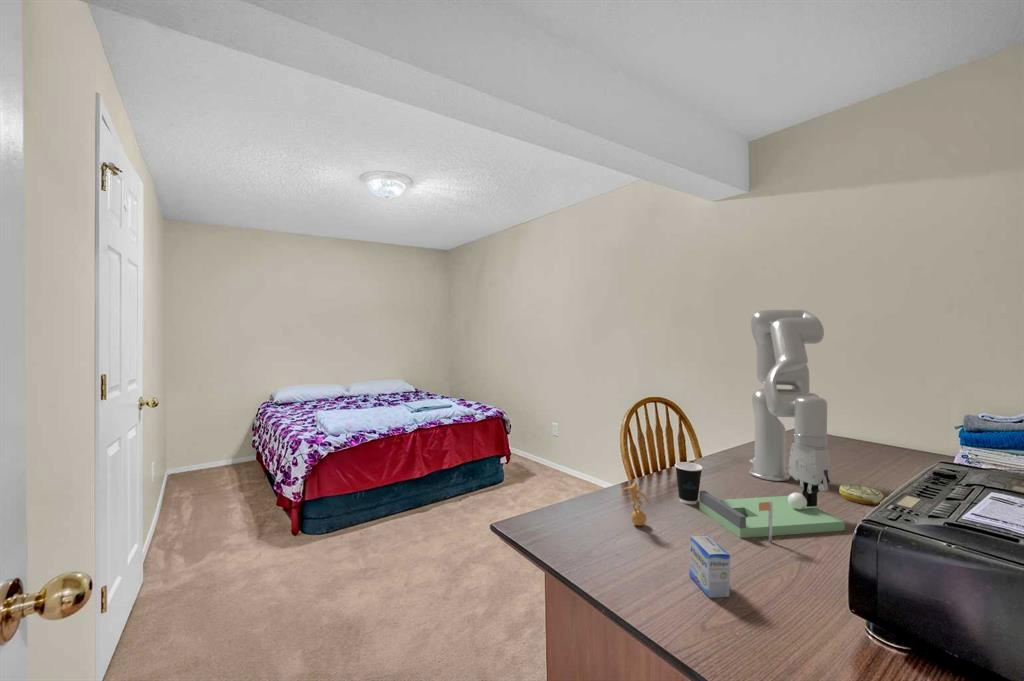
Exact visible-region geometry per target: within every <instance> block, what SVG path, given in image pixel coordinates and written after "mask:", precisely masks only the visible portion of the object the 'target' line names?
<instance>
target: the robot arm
mask: <svg viewBox="0 0 1024 681" xmlns="http://www.w3.org/2000/svg"><path fill="white" fill-rule="evenodd" d="M750 329H751V333H752V336H753V339H754V342H755V346H756V377H757V380H758V381H759V383H761V384H764V388H759V389H756V390H755V391H754V392H753V394H752V397H751V398H752V400H751V401H752V408H753V414H754V457H753V458H752V459H750V460H749V463H750V464H752V467H751V468H750V469H749V474H750V475H751V476H753V477H755V478H759V479H762V480H765V481H772V482H785V481H789V480H790V479H791V477H792V478H793V479H794V480H795V481H796V482H798V484H799V486H800V490H801V492H802V493H801V494H802V495H803V496H804V497H805V498H806V500H807V507H817V506H818V494H819V493H820V492H821V491H822V492H823V491H824V492H825V491H829V486H828V485H829V484H831V480H832V471H831V469H832V468H831V458H830V452H829V448H827V446H828V402H827V400H826V399H824V398H823V397H820V395H818V394H816V393H812V392H810V370H809V366H808V362H809V360H808V359H809V358H808V354H807V350H806V346H805V345H806V344H810V345H811V344H813V345H815V344H819V343H821V342H822V340H823V338H824V337H825V336H824V334H825V332H824V331H825V330H824V326H823V323H822V321H821V320H820V319H819V318H818V317H817V316H816V315H814V314H813V313H812V312H810V311H808V310H805V309H766V310H765V309H764V310H759V311H757V312H755V313H753V314H752V316H751V319H750ZM777 386H790V387H791V388H778V387H777ZM779 418H794V433H793V436H794V439H793V440H794V441H793V442H792V443H791V446H790V451H789V457H788V458H789V460H788V472H786V428H785V424H784V423H783V422H782V421H781V420H780V419H779Z"/></svg>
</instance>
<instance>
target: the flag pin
mask: <svg viewBox="0 0 1024 681" xmlns="http://www.w3.org/2000/svg"><path fill="white" fill-rule="evenodd" d="M768 510H769V521H768V536H767V538H768V539H767V540H768V543H769V544H773V536H772V502H770V501H769V502H761V503H759V511H768Z"/></svg>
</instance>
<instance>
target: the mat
mask: <svg viewBox="0 0 1024 681" xmlns="http://www.w3.org/2000/svg"><path fill="white" fill-rule="evenodd" d="M788 497H789V495H781V496H778V495H777V496H763V497H749V498H748V497H747V498H727V499H719V498H717V497H716V496H714V495H712V494H711V493H709V492H708V491H706V490H699V494H698V500H699V505H698V506H699V508H698V509H699V510H700V511H701V512H703V513H704V514H705V515H707V516H708V517H710V518H711V519H712V520H713V521H715V522H717V523H718V524H719V525H721V526H722V527H724V528H725V529H726V530H728V531H729V532H731V533H732V534H733V535H735V536H737V538H739V539H745V538H746V539H747V538H759V537H768V521H769V510H768V511H759V503H761V502H769V501H770V502H772V537H774V536H775V537H776V536H786V535H787V536H788V535H799V534H800V535H802V534H814V533H828V532H843V530H846V528H845V527H846V521H845V520H842V519H840V518H839V517H836V516H835V515H833V514H831V513H828V512H826V511H824V510H822V509H820V508H819V507H817V506H815V507H807V506H806V507H805V508H804V509H801V510H798V509H794V508H793V507H791V506H790V504H789V503H788Z"/></svg>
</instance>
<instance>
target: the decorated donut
mask: <svg viewBox="0 0 1024 681" xmlns="http://www.w3.org/2000/svg"><path fill="white" fill-rule="evenodd" d="M838 491H839V492H838V493H839V494H840V496H841V497H842V498H844V499H845V500H847V501H849V502H853V503H856V504H861V505H873V506H878V505H880V504H879V503H880V502H881V501H882V500H883V501H884V494H883V493H882V492H881V491H880V490H878V489H875V488H872V487H869V486H865V485H860V484H852V483H845V484H841V485H840V486H839V488H838Z"/></svg>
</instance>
